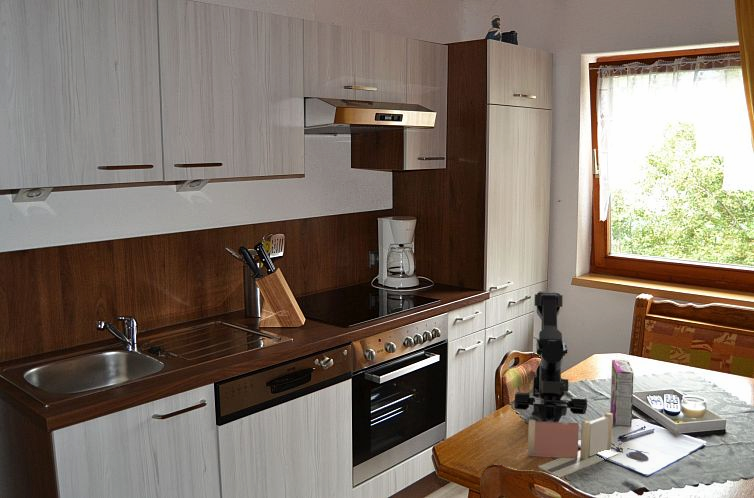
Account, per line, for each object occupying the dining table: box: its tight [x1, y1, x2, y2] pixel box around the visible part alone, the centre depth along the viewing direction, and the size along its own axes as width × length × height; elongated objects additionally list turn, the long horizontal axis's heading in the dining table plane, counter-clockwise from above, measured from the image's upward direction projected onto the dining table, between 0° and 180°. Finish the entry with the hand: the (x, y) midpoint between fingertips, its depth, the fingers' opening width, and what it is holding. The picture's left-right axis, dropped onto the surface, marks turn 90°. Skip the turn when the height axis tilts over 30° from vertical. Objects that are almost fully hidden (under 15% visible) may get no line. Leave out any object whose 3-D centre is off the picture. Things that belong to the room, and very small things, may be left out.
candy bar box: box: [609, 359, 634, 427], centre depth 207 cm, size 11×5×16 cm, turn 168°
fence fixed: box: [580, 412, 614, 460], centre depth 185 cm, size 11×2×10 cm, turn 124°
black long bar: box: [532, 305, 541, 357], centre depth 248 cm, size 7×7×25 cm
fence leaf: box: [527, 418, 580, 458], centre depth 183 cm, size 13×2×9 cm, turn 83°
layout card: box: [537, 449, 605, 479], centre depth 182 cm, size 23×7×1 cm, turn 124°
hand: (549, 434), depth 184 cm, fingers closed
